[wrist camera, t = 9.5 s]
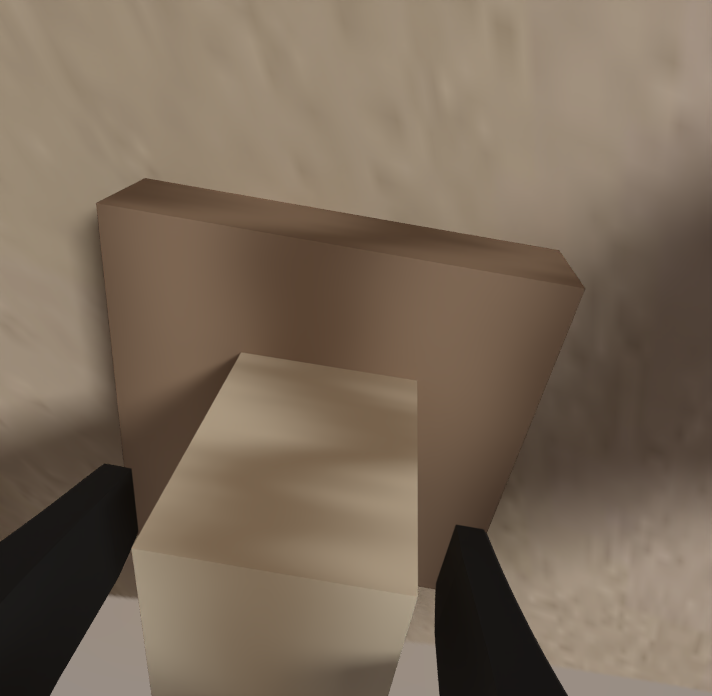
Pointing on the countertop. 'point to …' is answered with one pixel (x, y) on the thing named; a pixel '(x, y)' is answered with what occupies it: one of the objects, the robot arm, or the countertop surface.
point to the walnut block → (330, 330)
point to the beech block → (286, 538)
